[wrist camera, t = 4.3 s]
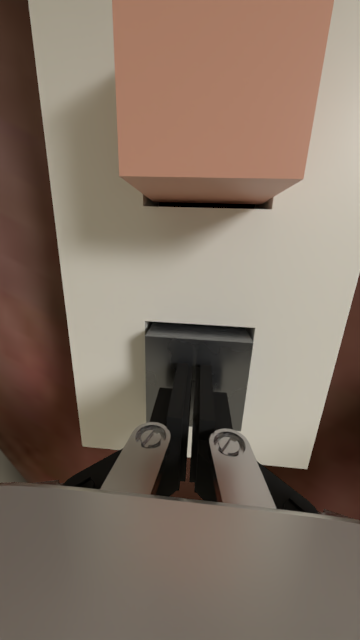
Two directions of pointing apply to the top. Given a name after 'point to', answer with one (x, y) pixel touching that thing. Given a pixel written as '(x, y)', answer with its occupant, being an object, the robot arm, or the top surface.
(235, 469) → the robot arm
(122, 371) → the panel
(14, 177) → the top surface
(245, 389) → the graphite button
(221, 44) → the terracotta button
